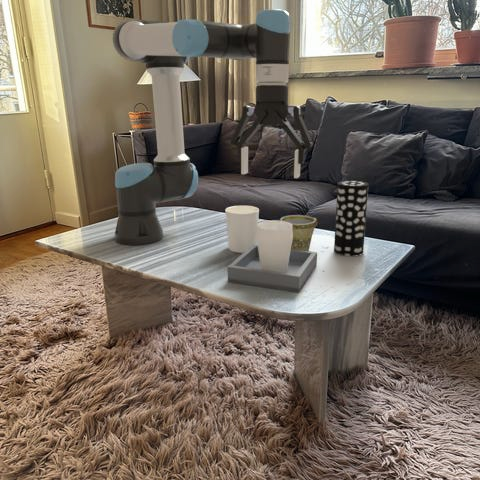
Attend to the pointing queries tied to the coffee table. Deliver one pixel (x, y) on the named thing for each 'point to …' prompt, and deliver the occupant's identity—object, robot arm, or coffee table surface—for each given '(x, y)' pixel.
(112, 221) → the coffee table surface
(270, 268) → the cup
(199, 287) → the coffee table surface
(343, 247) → the spotted tube
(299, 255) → the tray
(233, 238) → the candle holder
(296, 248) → the ceramic cup
